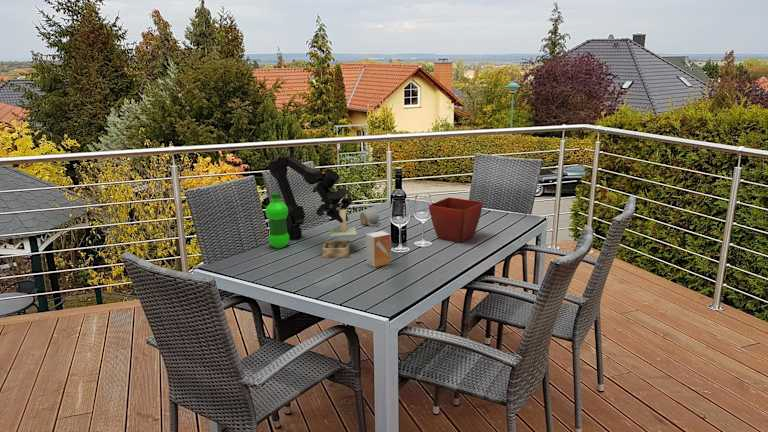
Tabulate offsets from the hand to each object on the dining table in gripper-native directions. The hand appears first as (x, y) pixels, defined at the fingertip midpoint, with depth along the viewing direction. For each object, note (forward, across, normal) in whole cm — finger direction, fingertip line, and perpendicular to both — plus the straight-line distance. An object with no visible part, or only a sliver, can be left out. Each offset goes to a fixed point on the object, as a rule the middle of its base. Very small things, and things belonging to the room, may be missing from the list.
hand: (344, 221), depth 244 cm
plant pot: (+31, +44, -12) cm, 55 cm away
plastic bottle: (-11, -14, +30) cm, 35 cm away
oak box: (+10, -6, +9) cm, 15 cm away
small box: (+26, -6, -8) cm, 28 cm away
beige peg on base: (+3, 0, +5) cm, 6 cm away
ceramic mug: (-3, +39, +23) cm, 45 cm away
